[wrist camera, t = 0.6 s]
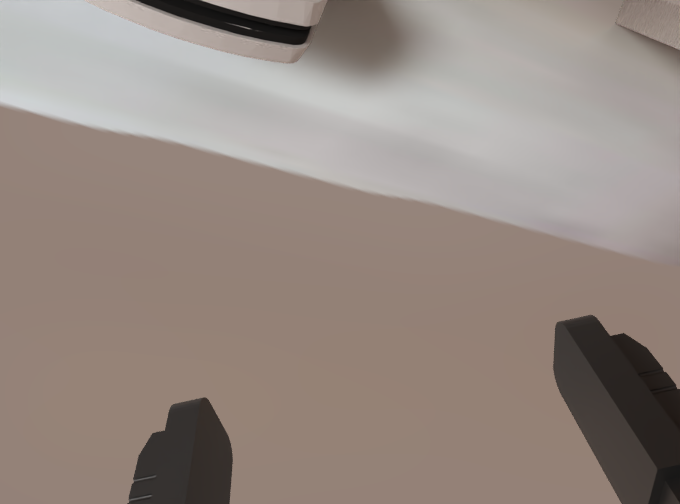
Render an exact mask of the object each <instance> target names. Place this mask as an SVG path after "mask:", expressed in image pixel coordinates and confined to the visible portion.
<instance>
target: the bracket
mask: <svg viewBox="0 0 680 504" xmlns="http://www.w3.org/2000/svg"><path fill="white" fill-rule="evenodd" d="M615 23H616V24H618V25H621V26H623V27H626V28H628V29H631V30H633V31H635V32H638V33H640V34H643V35H645V36H647V37H650V38H652V39H655V40H657V41H659V42H662V43H664V44H667V45H669V46H671V47H674V48H676V49H679V50H680V0H624V1H623V3H622V6H621V9H620V11H619V14H618V17H617V19H616V22H615Z"/></svg>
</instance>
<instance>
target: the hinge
mask: <svg viewBox="0 0 680 504" xmlns="http://www.w3.org/2000/svg"><path fill="white" fill-rule="evenodd" d="M84 1H87V2H89V3H91V4H93V5H95V6H97V7H99V8H101V9H103V10H105V11H108V12H110V13H112V14H115V15H117V16H120V17H122V18H124V19H127V20H129V21H132V22H134V23H137V24H139V25H142V26H144V27H147V28H149V29H152V30H155V31H158V32H160V33H163V34H166V35H169V36H172V37H175V38H178V39H181V40H184V41H187V42H191V43H194V44H198V45H201V46H205V47H208V48H212V49H215V50H219V51H223V52H227V53H232V54H236V55H240V56H245V57H250V58H256V59H261V60H267V61H274V62H281V63H294V62H297V61H298V60H299V59H300V57H301V56H302V54H303V53H304V52H305V50H306V49H307V48H308V46H309V45H310V43H311V41H312V38H313V35H314V33H315V30H316V27H317V25H318V23H319V21H320V18H321V16H322V13H323V11H324V8H325V6H326V3H327V0H84Z"/></svg>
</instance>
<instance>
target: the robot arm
mask: <svg viewBox="0 0 680 504" xmlns="http://www.w3.org/2000/svg"><path fill="white" fill-rule="evenodd" d="M553 368H554V375H555V379H556V383H557V386H558V389H559V391H560V393H561V395H562V397H563V398H564V401H565V402H566V404H567V406H568V408H569V410H570V411H571V413H572V415H573V416H574V419H575V420H576V422H577V424H578V426H579V428H580V429H581V431H582V433H583V435H584V437H585V438H586V440H587V442H588V444H589V446H590V447H591V449H592V451H593V453H594V455H595V456H596V458H597V460H598V462H599V464H600V465H601V467H602V469H603V471H604V473H605V474H606V476H607V478H608V480H609V482H610V483H611V485H612V487H613V489H614V491H615V493H616V494H617V496H618V498H619V500H620V501H621V503H622V504H680V389H677V387H676V384H675V383H674V382H673V381H672V379H671V378H670V377H669V375H668V374H667V373H666V372H664V371H663V368H662V367H661V365H660V364H659V363H658V361H657V360H656V359H655V358H654V356H653V355H652V354H651V353H650V352H649V350H648V349H647V348H646V347H644V346H643V345H641V344H640V343H638V342H637V341H635V340H634V339H632V338H631V337H629V336H627V335H626V334H624V333H623V334H618V335H613V336H610V335H609V334H608V333H607V331H606V330H605V329H604V327H603V326H602V324H601V323H600V322H599V320H598V319H597V318H596V317H595V316H593V315H588V316H583V317H579V318H574V319H570V320H565V321H560V322H557V324H556V328H555V346H554V364H553ZM232 462H233V459H232V448H231V443H230V440H229V437H228V435H227V433H226V431H225V429H224V427H223V426H222V424H221V422H220V420H219V418H218V416H217V415H216V413H215V411H214V409H213V407H212V405H211V404H210V402H209V400H208V399H207V398H200V399H195V400H191V401H186V402H181V403H177V404H173V405H172V406H171V408H170V410H169V414H168V419H167V423H166V428H165V431H161V432H156V433H153V434H152V435H151V437H150V438H149V440H148V442H147V443H146V445H145V447H144V448H143V450H142V451H141V453H140V455H139V457H138V462H137V466H136V470H135V474H134V478H133V479H134V483H133V484H132V486H131V491H130V495H129V503H128V504H229V502H230V489H231V476H232Z"/></svg>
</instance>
